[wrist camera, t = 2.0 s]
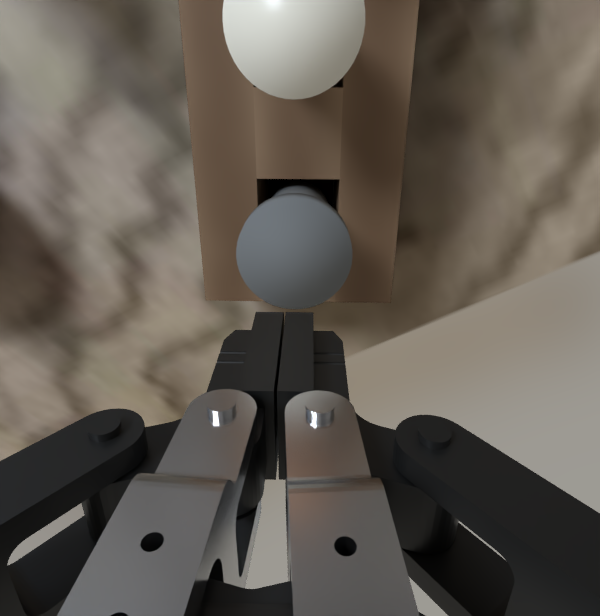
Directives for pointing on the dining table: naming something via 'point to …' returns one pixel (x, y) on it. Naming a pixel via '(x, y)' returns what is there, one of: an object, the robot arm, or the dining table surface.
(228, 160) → the walnut block
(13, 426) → the dining table surface
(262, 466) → the robot arm
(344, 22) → the cream plug
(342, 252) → the charcoal plug
